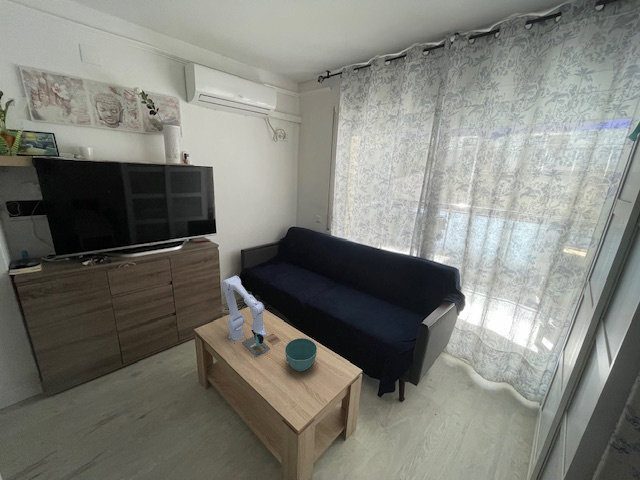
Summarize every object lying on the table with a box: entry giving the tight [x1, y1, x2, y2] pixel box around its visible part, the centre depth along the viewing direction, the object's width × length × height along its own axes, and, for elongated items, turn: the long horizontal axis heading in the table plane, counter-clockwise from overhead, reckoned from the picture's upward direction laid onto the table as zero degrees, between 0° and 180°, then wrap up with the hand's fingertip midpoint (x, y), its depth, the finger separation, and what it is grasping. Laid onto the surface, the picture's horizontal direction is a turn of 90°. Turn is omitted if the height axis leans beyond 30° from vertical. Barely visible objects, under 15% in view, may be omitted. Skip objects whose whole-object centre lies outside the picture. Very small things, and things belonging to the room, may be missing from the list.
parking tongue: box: [264, 333, 282, 347], centre depth 163 cm, size 10×7×2 cm
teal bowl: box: [284, 337, 318, 372], centre depth 142 cm, size 18×18×12 cm
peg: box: [255, 333, 263, 347], centre depth 151 cm, size 4×4×8 cm
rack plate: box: [241, 335, 271, 358], centre depth 156 cm, size 17×10×3 cm, turn 45°
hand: (259, 341), depth 152 cm, fingers closed on peg, 4 cm apart
